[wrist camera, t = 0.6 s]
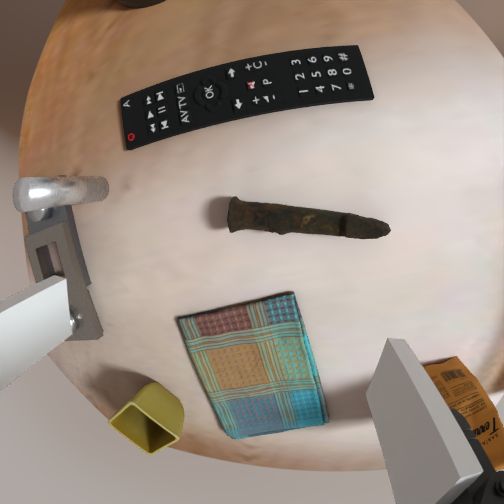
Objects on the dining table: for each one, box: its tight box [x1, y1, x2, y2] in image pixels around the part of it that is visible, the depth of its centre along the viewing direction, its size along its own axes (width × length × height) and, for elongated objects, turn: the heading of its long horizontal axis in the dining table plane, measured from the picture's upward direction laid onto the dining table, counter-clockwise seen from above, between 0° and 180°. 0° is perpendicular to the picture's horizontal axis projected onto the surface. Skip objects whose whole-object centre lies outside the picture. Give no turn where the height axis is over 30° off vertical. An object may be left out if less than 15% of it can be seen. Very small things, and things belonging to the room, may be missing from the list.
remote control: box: [120, 45, 374, 150], centre depth 32 cm, size 8×32×2 cm, turn 101°
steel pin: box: [13, 176, 109, 212], centre depth 30 cm, size 4×4×15 cm
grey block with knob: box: [25, 221, 104, 341], centre depth 38 cm, size 18×10×4 cm, turn 13°
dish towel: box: [177, 292, 329, 439], centre depth 39 cm, size 17×23×2 cm
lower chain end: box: [26, 176, 91, 286], centre depth 38 cm, size 17×10×4 cm, turn 13°
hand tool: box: [227, 196, 391, 239], centre depth 33 cm, size 19×4×5 cm, turn 84°
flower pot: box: [108, 382, 184, 455], centre depth 39 cm, size 9×9×9 cm
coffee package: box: [423, 357, 504, 471], centre depth 27 cm, size 10×12×22 cm
